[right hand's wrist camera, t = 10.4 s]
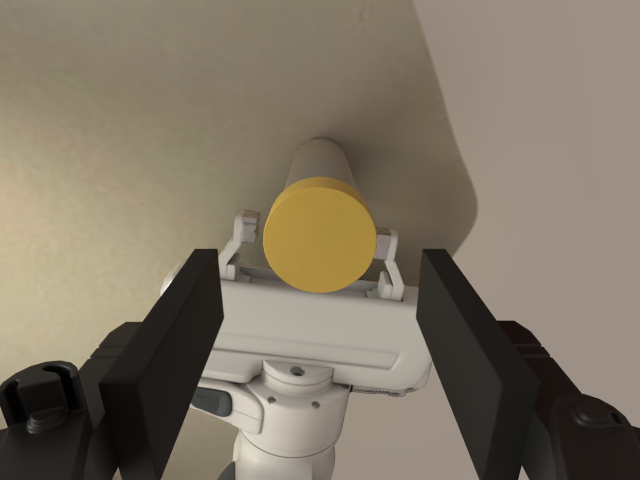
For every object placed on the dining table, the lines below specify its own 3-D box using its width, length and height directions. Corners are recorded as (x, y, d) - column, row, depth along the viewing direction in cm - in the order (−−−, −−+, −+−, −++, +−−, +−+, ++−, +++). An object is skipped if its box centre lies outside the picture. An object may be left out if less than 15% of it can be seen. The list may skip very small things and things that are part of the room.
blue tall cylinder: (329, 127, 32) (337, 170, 17) (358, 175, 33) (388, 254, 19) (281, 157, 33) (249, 223, 18) (311, 203, 34) (304, 299, 19)
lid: (337, 155, 18) (339, 164, 17) (390, 242, 20) (397, 259, 18) (247, 211, 19) (240, 225, 18) (304, 290, 21) (302, 310, 19)
